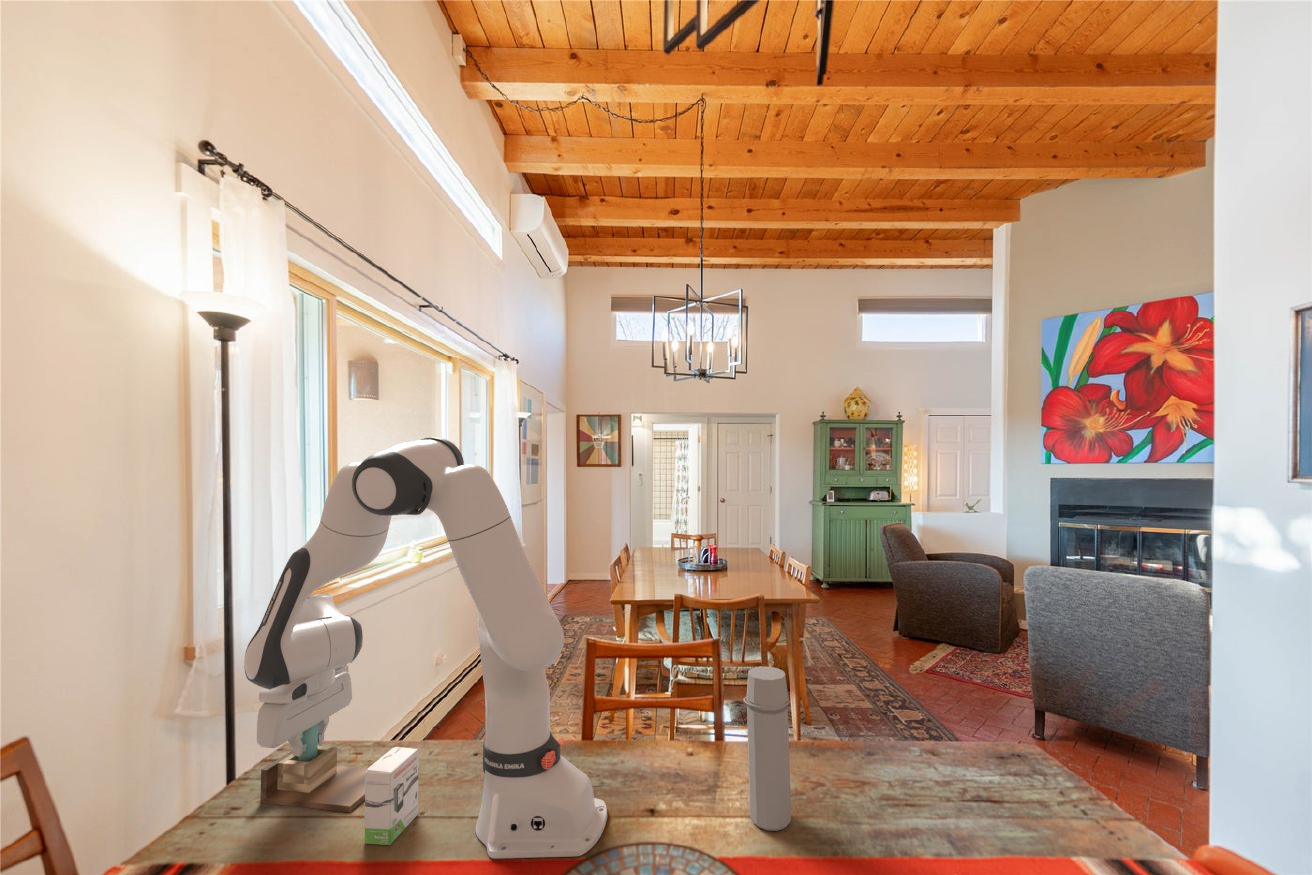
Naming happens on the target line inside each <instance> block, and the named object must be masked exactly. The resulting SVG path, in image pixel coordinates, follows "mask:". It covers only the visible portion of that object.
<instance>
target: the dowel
mask: <svg viewBox="0 0 1312 875" xmlns="http://www.w3.org/2000/svg"><path fill="white" fill-rule="evenodd" d="M300 740H301V742H302V743H306V752H305V753H303V754H302V755H300V756H298V761H305V762H310V761H311V760H313V759H314V758H316V757H317V755H318V746H319V744H318V723H317V724H316V725H314V726H312V727H311V728H309V729H307V730H305V731H304V732H302V738H300Z"/></svg>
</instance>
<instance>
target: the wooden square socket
mask: <svg viewBox="0 0 1312 875" xmlns="http://www.w3.org/2000/svg"><path fill="white" fill-rule="evenodd" d="M337 766H338V747H336V746H327V745H318V755H317V757H316V758H314V759H313V760H311V761H310V762H305V761H298V756H293V754H291V755H290V756H288V757H286V758H285V759H283V760H282V761H280V762H278V783H277V790H286V791H296V792H306V793H310V792H311V791H312V790H314V789H315V788H317V787H318V786H319V785H321V784H322V783H323V782H325V781H326V780H327V779H329V778H330V777H332V776H333V775H334V774H336V773H337Z"/></svg>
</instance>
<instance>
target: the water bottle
mask: <svg viewBox="0 0 1312 875" xmlns="http://www.w3.org/2000/svg"><path fill="white" fill-rule="evenodd" d="M747 671H748V672H747V685H746V686H747V687H746V696H745V697H743V703H745V704H746V711H747V713H746V715H747V717H746V718H747V719H746V720H747V722H746V723H747V724H746V725H747V755H748V756H747V757H748V758H747V759H748V760H747V761H748V788H749V789H748V793H749V795H748V796H749V799H748V800H749V816H750V820H751V822H753V823H754V824H755V825H756V826H757V828H760V829H762V830H765V831H772V832H773V831H775V832H777V831H780V830H783V829H786V828H787V827H788V826H789V824H790V823H791V821H792V805H791V804H792V803H791V802H792V801H791V798H792V797H791V796H792V795H791V769H790V762H791V761H790V736H789V735H790V734H789V733H790V732H789V731H790V730H789V708H788V705H789V703H790V699H789V694H788V692H789V691H788V685H787V684H788V683H787V677H786V673H785V671H784V670H782V669H780V668H778V667H773V666H755V667H752V668H750V669H749V670H747Z"/></svg>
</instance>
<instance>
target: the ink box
mask: <svg viewBox="0 0 1312 875" xmlns="http://www.w3.org/2000/svg"><path fill="white" fill-rule="evenodd" d="M419 760H420V759H419V748H411V747H401V746H395V747H392V748H391V749H389V751H387V752H386V753H385V754H384V755H382V756H381V757H380V758H379V759H378V760H376V761H375V762H374V763H373V764H371V765H370V766H369V767H367V768H368V769H367V771H366V772H365V800H364V844H366V845H367V844H368V845H382V846H383V845H385V846H386V845H387V846H391V845H392V844H393V842H394V841H395V840H396V839H397V838H398V837H399V836H400V835H401V833H403V832H404V831H405V829H407V827H408V826H409V825H410V824H411V823H412V822H413V820H414V819H415V818H417V817H418V815H419Z"/></svg>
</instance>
